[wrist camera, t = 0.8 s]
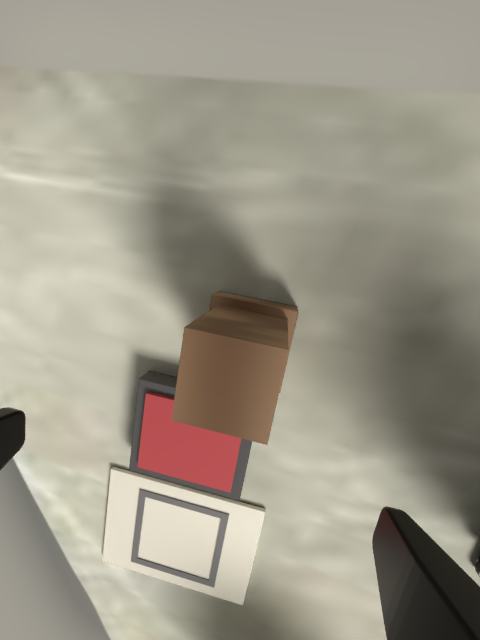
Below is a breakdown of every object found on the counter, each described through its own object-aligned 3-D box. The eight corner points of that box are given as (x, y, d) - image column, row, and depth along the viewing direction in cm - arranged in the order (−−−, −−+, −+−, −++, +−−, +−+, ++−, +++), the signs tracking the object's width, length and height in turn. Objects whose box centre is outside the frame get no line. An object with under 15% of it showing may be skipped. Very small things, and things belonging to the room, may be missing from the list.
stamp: (296, 306, 18) (305, 339, 11) (280, 379, 19) (276, 458, 12) (219, 290, 19) (173, 312, 11) (207, 363, 20) (158, 428, 12)
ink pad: (260, 397, 20) (258, 410, 18) (242, 484, 21) (238, 504, 20) (149, 370, 21) (136, 381, 19) (139, 456, 22) (126, 472, 21)
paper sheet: (265, 508, 22) (265, 513, 21) (243, 601, 24) (242, 607, 23) (113, 466, 23) (110, 469, 22) (104, 557, 25) (101, 562, 24)
